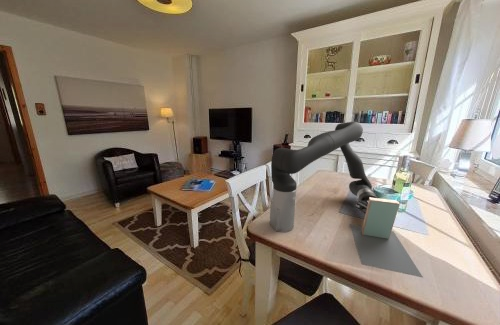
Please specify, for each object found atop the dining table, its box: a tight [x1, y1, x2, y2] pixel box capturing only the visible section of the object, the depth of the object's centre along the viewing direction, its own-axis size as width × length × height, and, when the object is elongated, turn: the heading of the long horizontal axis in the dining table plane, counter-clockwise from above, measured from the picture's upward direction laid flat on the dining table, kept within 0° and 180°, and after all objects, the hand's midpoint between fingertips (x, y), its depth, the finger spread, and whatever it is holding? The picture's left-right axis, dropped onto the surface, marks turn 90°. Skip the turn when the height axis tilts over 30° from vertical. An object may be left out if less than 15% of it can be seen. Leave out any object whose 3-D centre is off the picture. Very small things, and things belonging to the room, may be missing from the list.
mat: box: [349, 224, 424, 278], centre depth 71 cm, size 24×16×1 cm, turn 162°
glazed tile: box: [362, 197, 400, 239], centre depth 73 cm, size 2×9×16 cm, turn 72°
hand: (378, 217), depth 75 cm, fingers closed
